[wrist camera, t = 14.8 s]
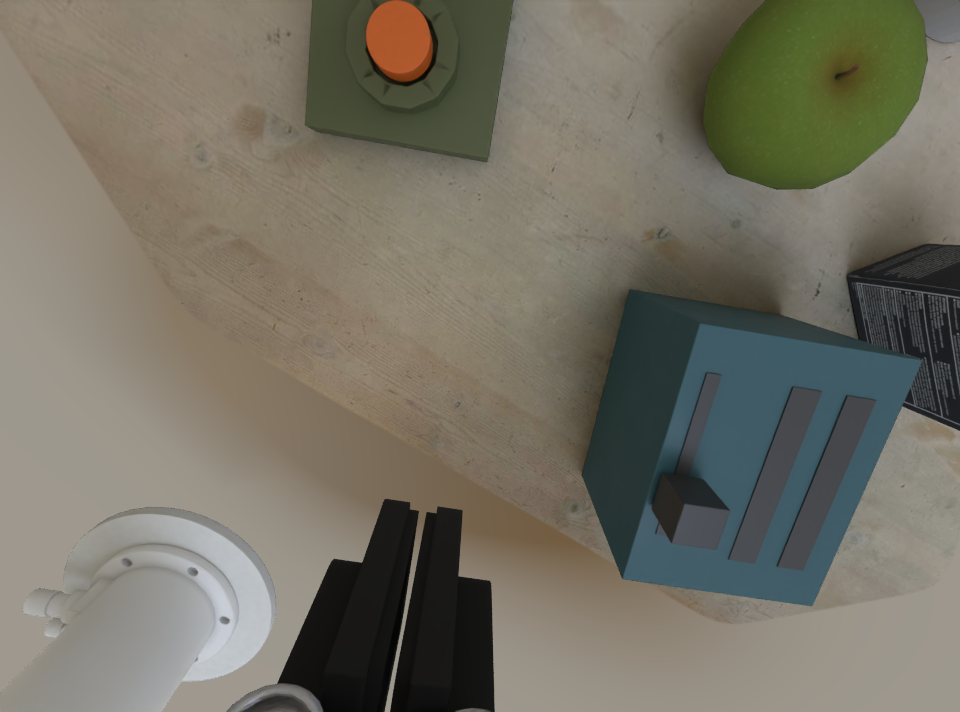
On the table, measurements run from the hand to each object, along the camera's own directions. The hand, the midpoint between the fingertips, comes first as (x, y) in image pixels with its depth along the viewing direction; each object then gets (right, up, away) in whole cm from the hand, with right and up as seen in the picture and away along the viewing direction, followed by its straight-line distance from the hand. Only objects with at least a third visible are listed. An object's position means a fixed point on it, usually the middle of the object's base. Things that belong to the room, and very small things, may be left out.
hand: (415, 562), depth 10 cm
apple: (+20, +21, +22) cm, 36 cm away
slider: (+12, -3, +16) cm, 21 cm away
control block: (-3, +24, +21) cm, 32 cm away
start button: (-3, +23, +18) cm, 29 cm away
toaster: (+17, +1, +28) cm, 33 cm away
